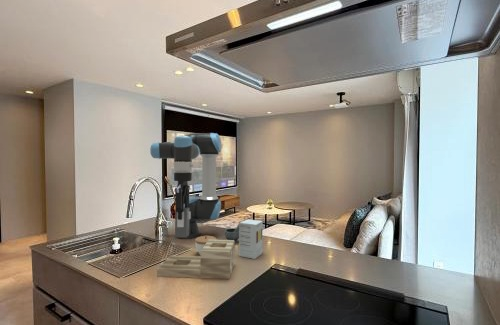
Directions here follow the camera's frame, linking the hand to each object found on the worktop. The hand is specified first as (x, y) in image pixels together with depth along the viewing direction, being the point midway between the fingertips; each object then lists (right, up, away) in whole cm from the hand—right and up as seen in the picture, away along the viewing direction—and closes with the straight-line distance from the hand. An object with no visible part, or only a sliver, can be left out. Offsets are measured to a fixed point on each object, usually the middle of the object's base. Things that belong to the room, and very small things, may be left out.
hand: (182, 225), depth 112 cm
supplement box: (+30, -20, +19) cm, 40 cm away
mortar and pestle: (+20, -19, +38) cm, 47 cm away
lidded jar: (+7, -19, +19) cm, 28 cm away
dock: (+7, -19, 0) cm, 20 cm away
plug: (0, -5, 0) cm, 5 cm away
